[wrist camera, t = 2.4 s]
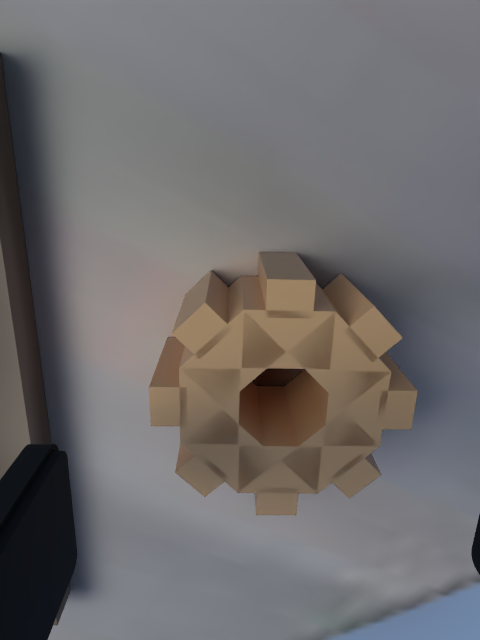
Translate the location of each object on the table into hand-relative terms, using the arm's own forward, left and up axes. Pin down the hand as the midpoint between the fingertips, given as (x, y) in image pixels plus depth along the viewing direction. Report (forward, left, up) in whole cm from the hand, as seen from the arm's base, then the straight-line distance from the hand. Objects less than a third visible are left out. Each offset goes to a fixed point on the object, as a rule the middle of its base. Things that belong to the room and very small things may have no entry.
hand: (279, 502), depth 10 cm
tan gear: (0, -1, -6) cm, 6 cm away
